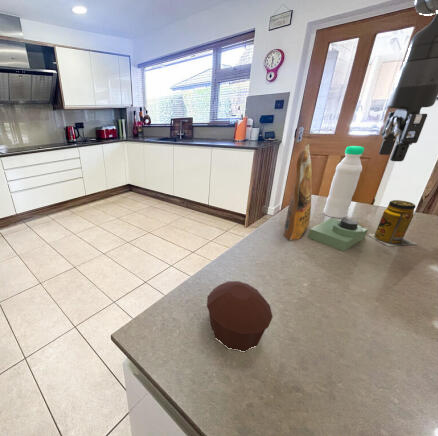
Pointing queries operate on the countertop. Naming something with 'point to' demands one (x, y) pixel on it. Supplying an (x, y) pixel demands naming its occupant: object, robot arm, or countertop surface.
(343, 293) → the countertop surface
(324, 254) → the countertop surface
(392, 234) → the condiment
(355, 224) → the pump top
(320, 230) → the dispenser base
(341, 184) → the water bottle
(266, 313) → the muffin
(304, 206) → the pancake mix bag
